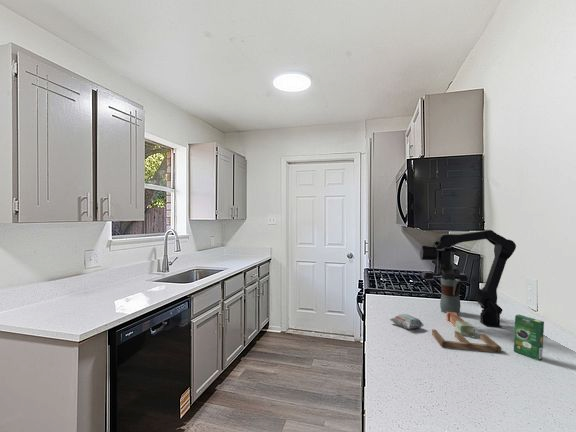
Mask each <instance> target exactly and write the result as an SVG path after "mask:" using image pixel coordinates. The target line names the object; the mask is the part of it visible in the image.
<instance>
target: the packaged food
mask: <svg viewBox="0 0 576 432" xmlns="http://www.w3.org/2000/svg"><path fill="white" fill-rule="evenodd" d="M388 320H389V321H391V322H393V324H395V325H397V326H400V327H402V328H404V329H407V330H408V329H409V330H412V329H413V330H414V329H415V330H416V329H420V328H422V327H424V326H425V325H424V323H423V322H422V321H421V319H419V318H417V317H414V316H412V315H410V314H407V313H402V314H401V313H400V314H398V315H395V316H394V317H391V318H389V319H388Z"/></svg>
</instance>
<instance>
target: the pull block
mask: <svg viewBox="0 0 576 432" xmlns="http://www.w3.org/2000/svg"><path fill="white" fill-rule="evenodd" d="M448 321H449V323H450V322H451V323H452V324H453V325H452V324H451V323H450V324H451V325H452V326H453V327H454V330H455V331H457V332H460V333H461V334H462V335H463V336H464V337H472V336H474V337H475V325H473V324H472V323H471V322H469V321H465V320H464V319H463V318H462V317H461V316H459V314H458V315H457V313H456V312H447V314H446V322H448Z"/></svg>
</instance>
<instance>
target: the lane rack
mask: <svg viewBox="0 0 576 432" xmlns="http://www.w3.org/2000/svg"><path fill="white" fill-rule="evenodd" d="M431 335H432V336H433V338H434V339H435V340H436V342H437V343H438V344H439V346H440V347H441V348H446V347H447V348H449V349H456V348H459V349H458V350H466V349H467V350H466V351H477V350H478V351H479V352H489V353H499V354H501V353H502V346H501V345H499V344H498V343H497V342H496V341H495V340H493V339H491V337H489V336H488V335H487V334H485V333H480V340H481V341H483V342H484V343H475V342H470V341H469V340H468V339H467V338H466V336H463V335H462V334H461V333H460V332H457V331H456V330H455V331H454V337H455V338H456V340H457V341H454V340H445V339H444V337H443V336H442V335H441V334H440V333H439V331H438V330H437V329H431ZM458 340H459V341H460V342H459V341H458Z"/></svg>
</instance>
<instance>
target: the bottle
mask: <svg viewBox="0 0 576 432" xmlns="http://www.w3.org/2000/svg"><path fill="white" fill-rule="evenodd" d="M451 264H452V268H453V269H458V268H457V266H456V264H455V252H452V256H451ZM453 286H454V280H449V279H447V280H445V279H443V278H440V288H441V295H440V300H439V301H440V302H439V307H440V312H442V313H443V312H444V314H446V313H447V312H456V313H457V314H458V315H460V311H461V300H460V299H461V297H460V294H461V293H460V292H461V285H460V286H459V288H458V291H457V293H456V295H455V296H454V295H453Z"/></svg>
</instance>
